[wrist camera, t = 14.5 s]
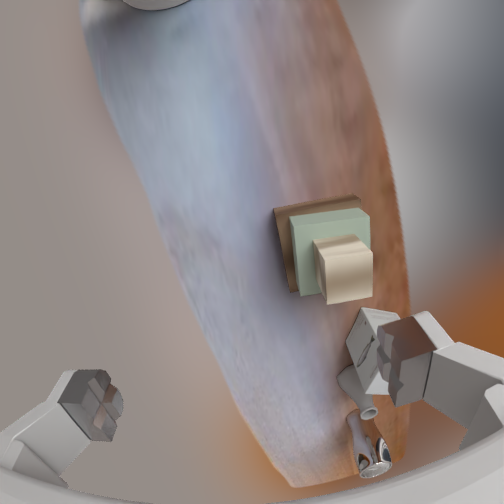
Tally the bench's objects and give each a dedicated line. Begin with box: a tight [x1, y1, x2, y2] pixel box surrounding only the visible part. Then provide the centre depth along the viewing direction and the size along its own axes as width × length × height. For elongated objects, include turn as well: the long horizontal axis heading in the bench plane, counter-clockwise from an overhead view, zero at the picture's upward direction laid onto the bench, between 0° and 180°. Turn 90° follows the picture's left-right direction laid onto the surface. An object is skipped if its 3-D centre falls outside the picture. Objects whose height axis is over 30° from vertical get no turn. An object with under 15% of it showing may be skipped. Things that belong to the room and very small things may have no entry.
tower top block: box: [289, 208, 370, 296], centre depth 38 cm, size 9×9×4 cm
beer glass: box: [346, 409, 392, 478], centre depth 52 cm, size 7×7×15 cm
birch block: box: [313, 234, 373, 305], centre depth 33 cm, size 5×5×6 cm
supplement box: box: [345, 307, 400, 394], centre depth 43 cm, size 7×7×13 cm
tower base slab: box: [273, 193, 362, 293], centre depth 42 cm, size 11×11×4 cm
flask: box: [337, 365, 378, 420], centre depth 49 cm, size 7×7×10 cm
